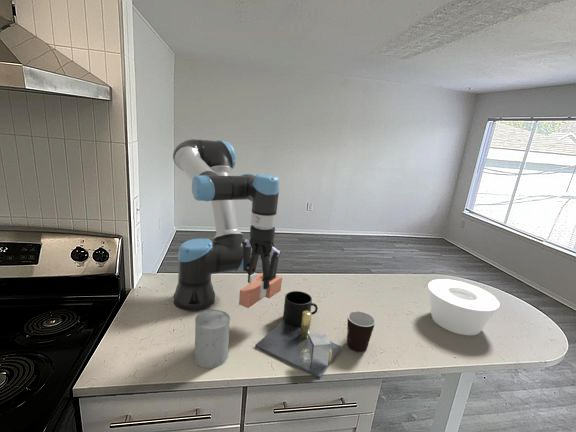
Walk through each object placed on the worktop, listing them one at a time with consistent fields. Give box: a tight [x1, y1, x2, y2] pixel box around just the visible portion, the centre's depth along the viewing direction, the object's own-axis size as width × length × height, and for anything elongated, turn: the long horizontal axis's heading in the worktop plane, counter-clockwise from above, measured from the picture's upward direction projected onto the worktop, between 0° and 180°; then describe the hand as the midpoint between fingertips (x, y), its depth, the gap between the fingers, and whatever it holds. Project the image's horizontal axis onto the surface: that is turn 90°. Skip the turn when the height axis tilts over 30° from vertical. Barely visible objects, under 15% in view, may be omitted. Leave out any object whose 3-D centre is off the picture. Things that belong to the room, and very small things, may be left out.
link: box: [238, 271, 283, 309], centre depth 106 cm, size 16×7×5 cm, turn 149°
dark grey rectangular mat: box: [255, 320, 342, 379], centre depth 102 cm, size 22×16×1 cm
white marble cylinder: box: [193, 309, 231, 369], centre depth 93 cm, size 10×10×12 cm
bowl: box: [427, 278, 501, 336], centre depth 124 cm, size 24×24×12 cm
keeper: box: [308, 331, 332, 368], centre depth 95 cm, size 6×6×7 cm
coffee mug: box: [346, 310, 376, 353], centre depth 105 cm, size 12×9×10 cm
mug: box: [282, 290, 319, 329], centre depth 116 cm, size 9×12×9 cm
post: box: [300, 311, 312, 338], centre depth 106 cm, size 3×3×8 cm
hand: (257, 294), depth 106 cm, fingers closed on link, 3 cm apart
